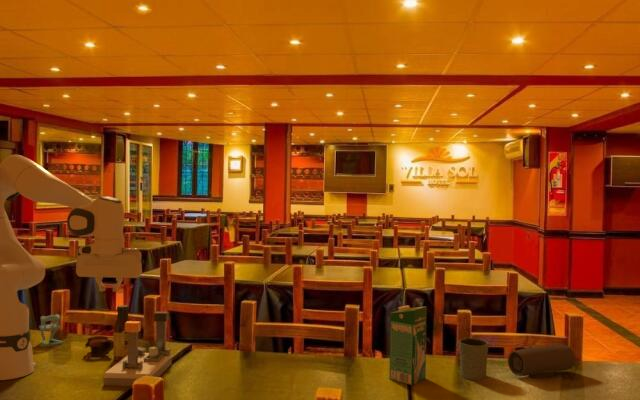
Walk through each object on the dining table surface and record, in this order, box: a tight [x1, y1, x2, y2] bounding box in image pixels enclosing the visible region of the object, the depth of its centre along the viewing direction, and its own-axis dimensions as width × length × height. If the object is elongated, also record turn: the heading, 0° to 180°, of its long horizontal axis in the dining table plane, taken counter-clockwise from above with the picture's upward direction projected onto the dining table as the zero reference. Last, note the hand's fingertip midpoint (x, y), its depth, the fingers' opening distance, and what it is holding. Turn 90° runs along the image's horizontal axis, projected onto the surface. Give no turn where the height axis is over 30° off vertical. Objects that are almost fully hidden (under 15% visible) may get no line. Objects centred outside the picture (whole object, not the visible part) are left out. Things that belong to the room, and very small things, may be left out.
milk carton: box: [388, 305, 428, 386], centre depth 184 cm, size 9×9×25 cm
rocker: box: [138, 346, 147, 355], centre depth 194 cm, size 4×3×2 cm
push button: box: [148, 346, 158, 358], centre depth 188 cm, size 3×3×3 cm
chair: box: [38, 313, 63, 348], centre depth 220 cm, size 8×8×12 cm
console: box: [103, 347, 173, 387], centre depth 185 cm, size 15×22×6 cm
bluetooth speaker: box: [507, 344, 576, 379], centre depth 190 cm, size 23×9×10 cm, turn 111°
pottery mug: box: [84, 335, 114, 359], centre depth 206 cm, size 12×9×8 cm
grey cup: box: [458, 337, 489, 381], centre depth 188 cm, size 10×10×12 cm
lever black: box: [153, 310, 170, 355], centre depth 193 cm, size 4×2×15 cm, turn 87°
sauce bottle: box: [112, 304, 130, 362], centre depth 201 cm, size 7×6×20 cm
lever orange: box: [125, 320, 142, 369], centre depth 179 cm, size 4×2×15 cm, turn 87°
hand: (109, 291), depth 172 cm, fingers open, 3 cm apart
